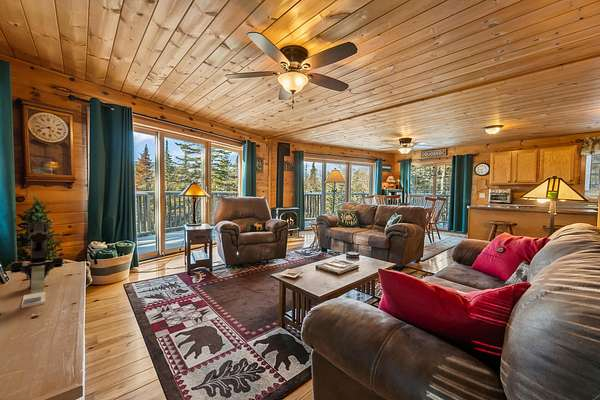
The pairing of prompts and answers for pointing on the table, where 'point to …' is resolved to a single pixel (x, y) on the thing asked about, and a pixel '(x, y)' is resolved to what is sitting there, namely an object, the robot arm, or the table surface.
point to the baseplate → (33, 299)
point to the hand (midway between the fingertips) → (37, 279)
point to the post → (37, 279)
